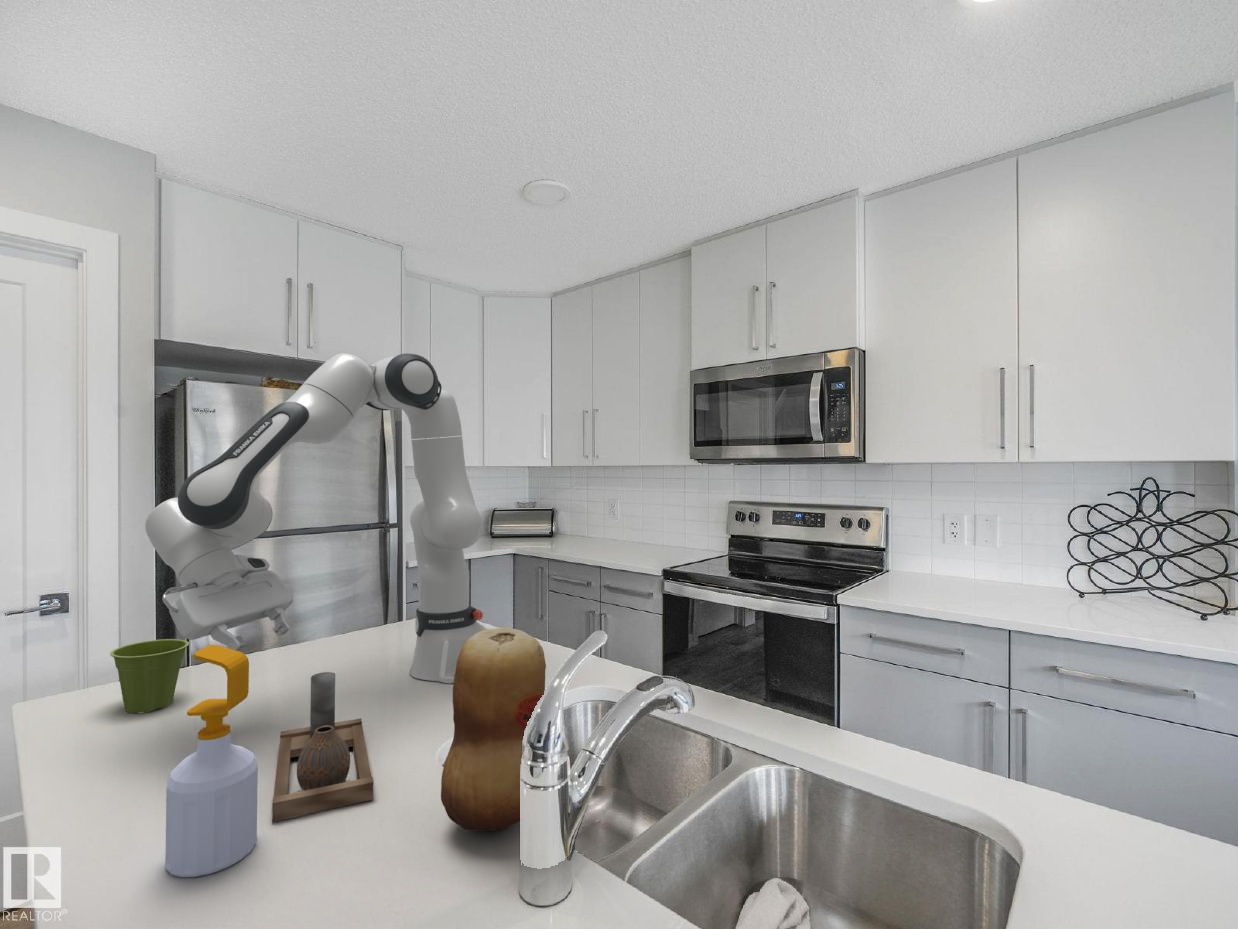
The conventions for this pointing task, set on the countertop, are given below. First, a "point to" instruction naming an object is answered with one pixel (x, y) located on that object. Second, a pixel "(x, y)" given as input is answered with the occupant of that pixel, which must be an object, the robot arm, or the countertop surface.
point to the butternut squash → (491, 727)
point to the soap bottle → (213, 784)
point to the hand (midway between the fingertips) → (263, 640)
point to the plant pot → (149, 673)
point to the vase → (323, 760)
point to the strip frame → (296, 741)
